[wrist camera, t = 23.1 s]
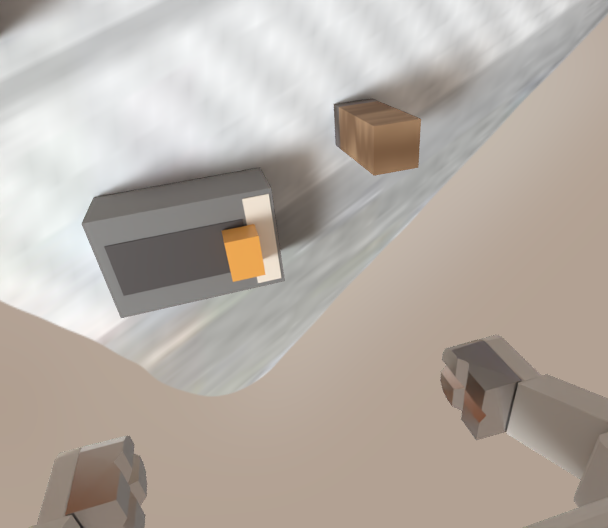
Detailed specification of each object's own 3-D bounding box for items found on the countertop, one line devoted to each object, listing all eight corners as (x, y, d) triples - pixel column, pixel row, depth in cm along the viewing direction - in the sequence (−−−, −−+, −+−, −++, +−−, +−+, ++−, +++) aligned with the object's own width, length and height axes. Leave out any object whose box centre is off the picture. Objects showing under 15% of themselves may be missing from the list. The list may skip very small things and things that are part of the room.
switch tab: (221, 230, 38) (224, 243, 36) (254, 224, 39) (258, 235, 36) (229, 268, 40) (232, 281, 38) (261, 261, 41) (265, 274, 39)
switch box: (93, 197, 40) (81, 224, 35) (259, 167, 43) (271, 188, 37) (127, 284, 45) (120, 318, 40) (273, 253, 48) (285, 281, 43)
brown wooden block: (333, 104, 41) (373, 126, 33) (372, 98, 42) (420, 118, 34) (335, 145, 43) (373, 175, 35) (372, 138, 44) (418, 167, 36)
